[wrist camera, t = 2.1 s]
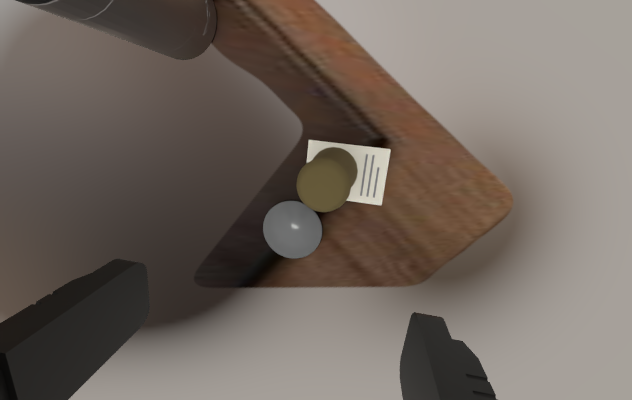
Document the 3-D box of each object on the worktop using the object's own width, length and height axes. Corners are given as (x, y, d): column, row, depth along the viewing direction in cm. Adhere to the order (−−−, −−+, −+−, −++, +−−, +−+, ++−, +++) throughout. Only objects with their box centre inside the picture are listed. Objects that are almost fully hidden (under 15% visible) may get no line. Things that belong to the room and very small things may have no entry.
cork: (318, 200, 38) (301, 228, 28) (303, 155, 37) (279, 166, 27) (363, 187, 37) (363, 210, 26) (349, 140, 36) (343, 145, 25)
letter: (303, 194, 39) (303, 194, 38) (309, 139, 37) (308, 139, 37) (381, 205, 37) (381, 205, 37) (390, 149, 36) (390, 149, 35)
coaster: (262, 251, 42) (261, 253, 41) (266, 196, 40) (265, 197, 39) (319, 261, 40) (318, 262, 40) (325, 204, 38) (325, 206, 38)
